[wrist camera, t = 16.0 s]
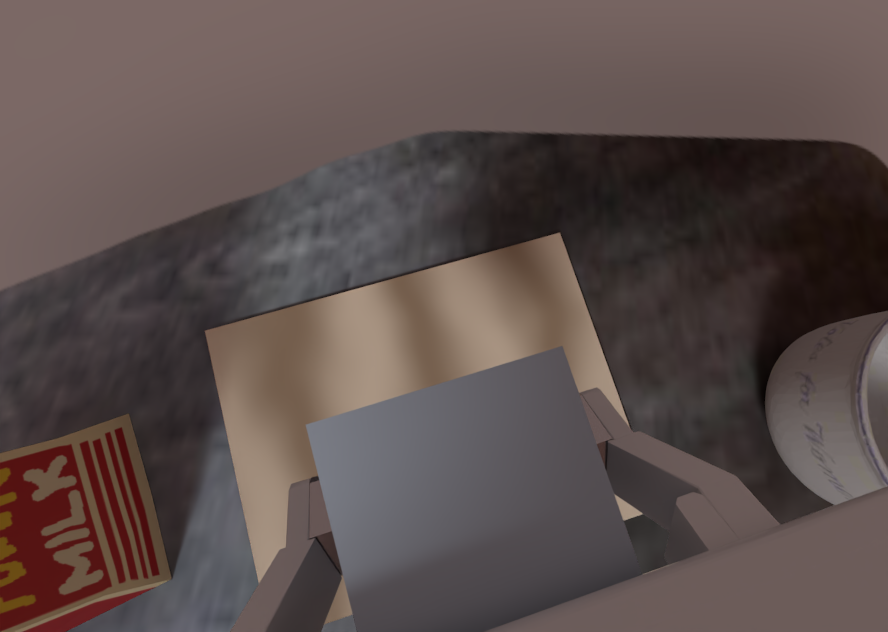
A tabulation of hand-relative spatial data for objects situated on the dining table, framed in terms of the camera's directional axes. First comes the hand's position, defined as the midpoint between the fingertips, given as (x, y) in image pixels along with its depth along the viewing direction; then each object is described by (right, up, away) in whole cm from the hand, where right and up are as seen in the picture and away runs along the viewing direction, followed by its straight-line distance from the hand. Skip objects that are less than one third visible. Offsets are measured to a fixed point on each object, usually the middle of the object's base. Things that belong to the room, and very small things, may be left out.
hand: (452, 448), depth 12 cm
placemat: (-1, -2, +14) cm, 15 cm away
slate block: (0, -1, +4) cm, 4 cm away
